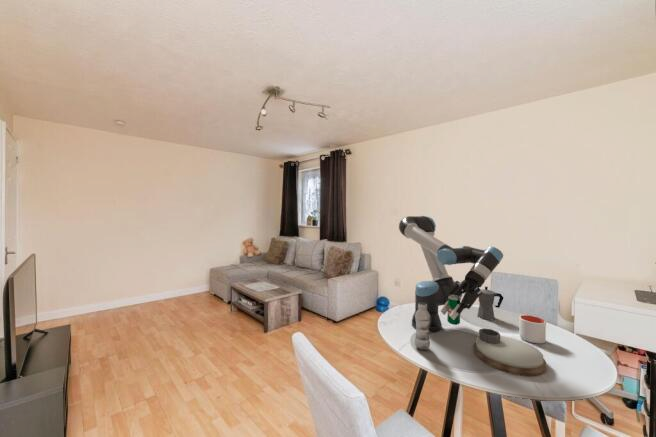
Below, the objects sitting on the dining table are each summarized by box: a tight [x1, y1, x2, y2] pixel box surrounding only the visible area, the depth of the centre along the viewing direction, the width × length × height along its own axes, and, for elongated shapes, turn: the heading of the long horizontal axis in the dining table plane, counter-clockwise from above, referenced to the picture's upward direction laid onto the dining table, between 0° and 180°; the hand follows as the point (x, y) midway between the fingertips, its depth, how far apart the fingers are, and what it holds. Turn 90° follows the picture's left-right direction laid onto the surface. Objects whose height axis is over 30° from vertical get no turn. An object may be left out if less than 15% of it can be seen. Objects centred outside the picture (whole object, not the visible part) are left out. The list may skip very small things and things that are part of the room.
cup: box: [518, 314, 547, 344], centre depth 127 cm, size 10×10×10 cm
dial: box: [475, 328, 544, 369], centre depth 111 cm, size 25×23×5 cm
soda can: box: [446, 295, 461, 326], centre depth 116 cm, size 5×5×12 cm
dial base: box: [473, 341, 547, 377], centre depth 111 cm, size 25×25×2 cm
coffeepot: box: [477, 286, 504, 321], centre depth 153 cm, size 15×9×18 cm, turn 37°
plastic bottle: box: [414, 303, 431, 351], centre depth 118 cm, size 6×7×20 cm
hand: (446, 315), depth 115 cm, fingers closed on soda can, 5 cm apart
